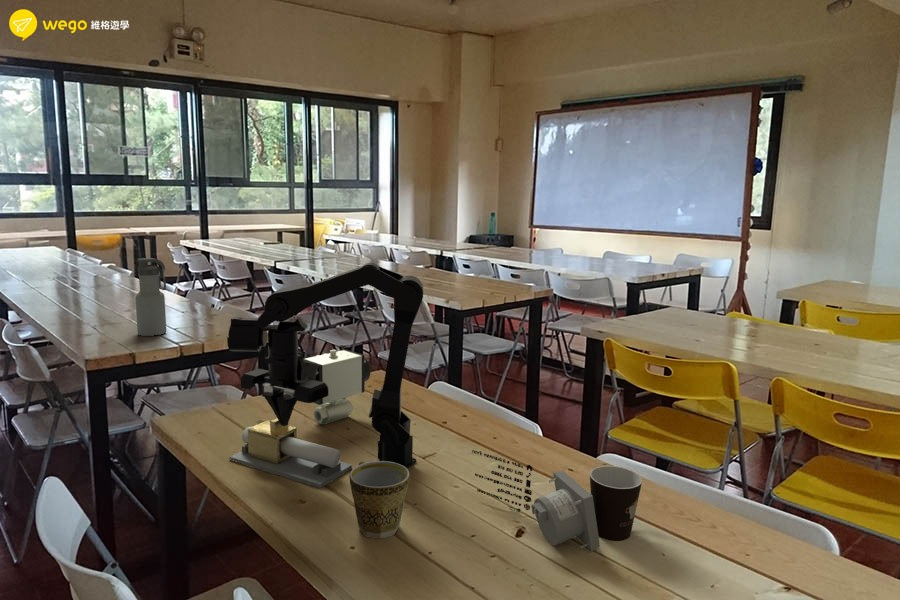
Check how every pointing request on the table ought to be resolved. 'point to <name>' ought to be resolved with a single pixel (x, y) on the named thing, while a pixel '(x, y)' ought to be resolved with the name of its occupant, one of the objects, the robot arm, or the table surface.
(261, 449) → the coupling
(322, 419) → the ball valve
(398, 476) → the ceramic cup
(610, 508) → the brown paper cup
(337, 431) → the table surface
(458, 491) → the table surface
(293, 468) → the pipe run
